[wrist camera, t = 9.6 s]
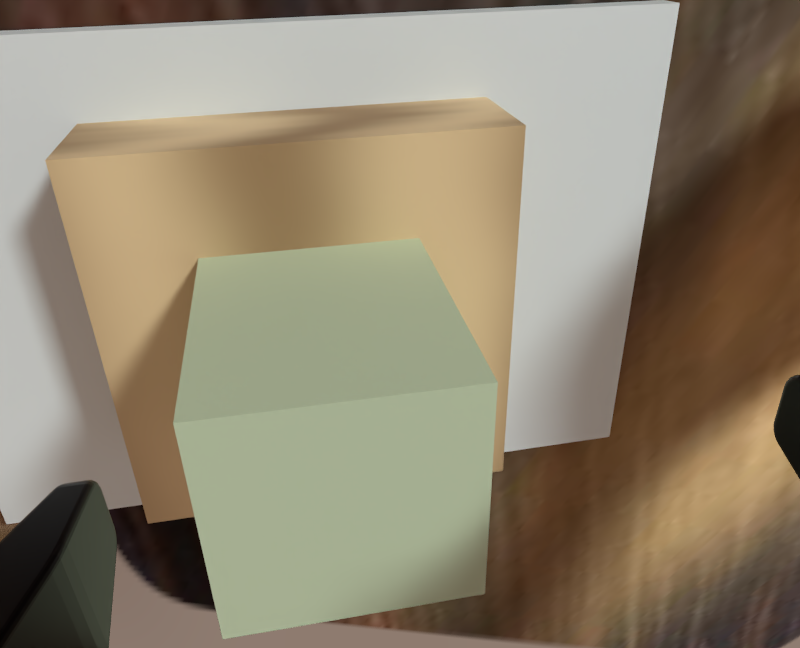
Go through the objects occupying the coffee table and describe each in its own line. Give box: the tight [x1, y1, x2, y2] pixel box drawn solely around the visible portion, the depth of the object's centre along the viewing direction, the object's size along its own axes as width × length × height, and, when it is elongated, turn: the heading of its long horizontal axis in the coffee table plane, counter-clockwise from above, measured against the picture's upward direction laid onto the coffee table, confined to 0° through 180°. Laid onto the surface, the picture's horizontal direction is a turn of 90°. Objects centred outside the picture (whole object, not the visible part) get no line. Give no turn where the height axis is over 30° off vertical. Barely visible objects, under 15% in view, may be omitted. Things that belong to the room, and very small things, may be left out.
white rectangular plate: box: [0, 0, 680, 524], centre depth 20 cm, size 20×14×1 cm
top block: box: [173, 238, 498, 639], centre depth 14 cm, size 5×5×6 cm
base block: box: [45, 97, 526, 524], centre depth 18 cm, size 10×10×3 cm
